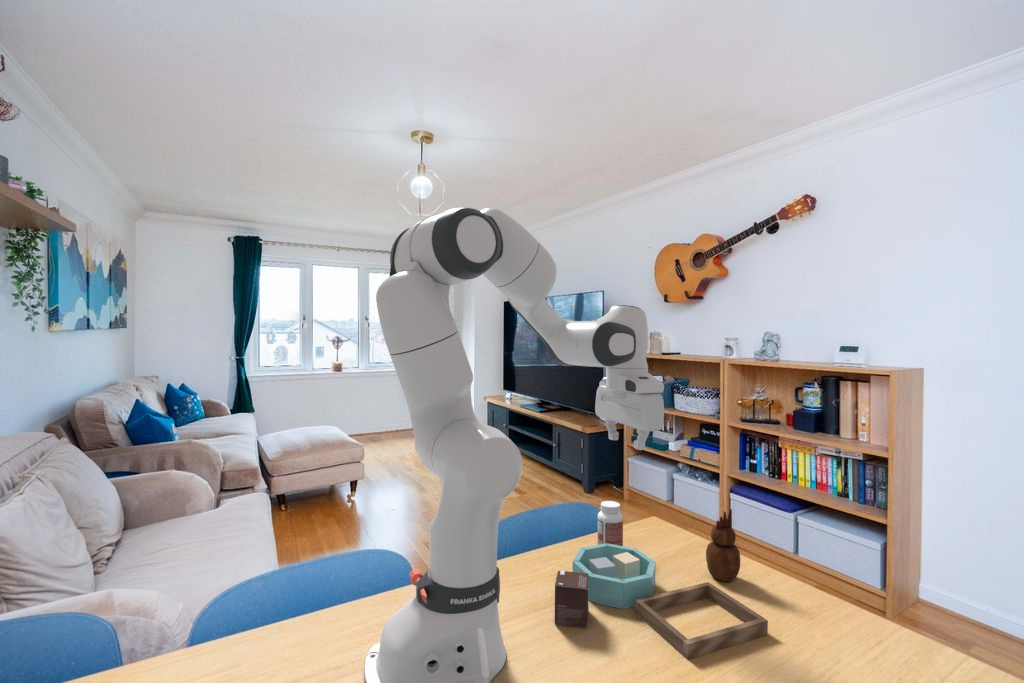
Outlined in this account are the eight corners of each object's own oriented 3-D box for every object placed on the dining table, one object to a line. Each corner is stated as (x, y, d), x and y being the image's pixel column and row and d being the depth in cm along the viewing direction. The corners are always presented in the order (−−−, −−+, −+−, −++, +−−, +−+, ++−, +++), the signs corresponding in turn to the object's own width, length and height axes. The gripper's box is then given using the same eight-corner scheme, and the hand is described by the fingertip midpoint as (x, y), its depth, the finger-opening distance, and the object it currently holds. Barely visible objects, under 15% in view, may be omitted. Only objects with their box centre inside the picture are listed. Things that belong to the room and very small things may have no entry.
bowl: (602, 614, 90) (602, 587, 90) (561, 573, 105) (562, 551, 105) (670, 597, 97) (671, 572, 96) (623, 561, 112) (623, 540, 111)
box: (587, 629, 86) (587, 589, 86) (553, 625, 87) (554, 585, 87) (588, 610, 92) (589, 572, 92) (557, 606, 93) (557, 569, 93)
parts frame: (687, 659, 78) (687, 644, 78) (634, 612, 91) (635, 599, 91) (767, 634, 85) (767, 620, 85) (708, 594, 98) (708, 582, 98)
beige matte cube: (625, 585, 99) (625, 563, 99) (612, 576, 103) (612, 555, 103) (639, 580, 101) (639, 559, 101) (626, 572, 105) (626, 551, 105)
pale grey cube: (597, 590, 97) (598, 568, 97) (588, 580, 101) (589, 559, 101) (615, 587, 99) (615, 565, 98) (605, 577, 102) (605, 557, 102)
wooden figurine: (733, 572, 107) (734, 505, 107) (743, 585, 101) (744, 515, 101) (702, 570, 108) (703, 504, 107) (710, 583, 102) (711, 513, 102)
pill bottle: (626, 547, 119) (627, 503, 119) (616, 556, 114) (616, 510, 114) (604, 540, 123) (604, 497, 122) (592, 549, 118) (593, 504, 118)
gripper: (588, 376, 112) (588, 435, 112) (643, 386, 93) (643, 456, 93) (611, 376, 114) (611, 433, 115) (669, 385, 95) (669, 453, 96)
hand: (625, 444), depth 104 cm, fingers open, 8 cm apart
